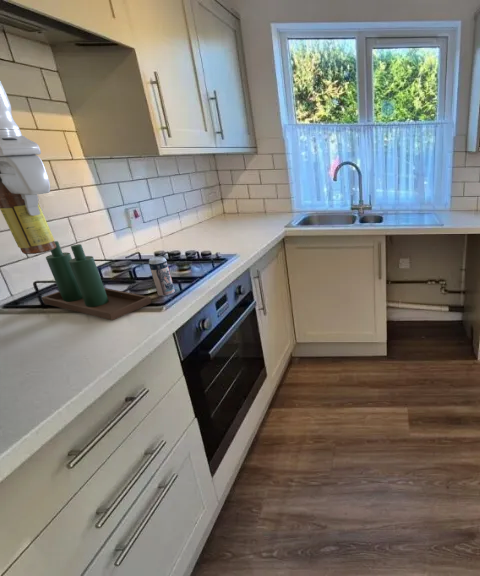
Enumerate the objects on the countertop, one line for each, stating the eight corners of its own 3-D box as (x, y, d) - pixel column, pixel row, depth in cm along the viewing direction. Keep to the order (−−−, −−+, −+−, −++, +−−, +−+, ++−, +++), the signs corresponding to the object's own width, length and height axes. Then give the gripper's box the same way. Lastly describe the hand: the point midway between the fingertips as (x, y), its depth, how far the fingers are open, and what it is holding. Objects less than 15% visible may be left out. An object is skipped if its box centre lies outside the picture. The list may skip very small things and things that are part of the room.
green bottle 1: (59, 300, 111) (35, 243, 104) (79, 293, 116) (58, 239, 109) (70, 303, 109) (47, 245, 102) (90, 295, 114) (69, 240, 107)
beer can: (168, 297, 113) (157, 261, 108) (154, 296, 113) (143, 260, 109) (178, 291, 117) (169, 256, 112) (165, 290, 118) (155, 255, 113)
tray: (44, 305, 110) (41, 297, 109) (86, 290, 119) (83, 283, 118) (112, 322, 98) (109, 313, 97) (152, 304, 108) (149, 296, 107)
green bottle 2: (81, 305, 107) (58, 247, 100) (101, 298, 112) (80, 242, 105) (93, 308, 105) (70, 249, 98) (112, 300, 110) (92, 243, 103)
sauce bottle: (62, 246, 85) (28, 156, 78) (50, 253, 80) (13, 158, 72) (27, 249, 83) (-11, 158, 76) (13, 257, 78) (-30, 159, 70)
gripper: (-51, 146, 74) (-20, 213, 80) (3, 146, 67) (33, 220, 72) (-11, 145, 79) (16, 208, 85) (43, 144, 72) (68, 214, 77)
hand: (24, 214), depth 78 cm, fingers closed on sauce bottle, 6 cm apart
